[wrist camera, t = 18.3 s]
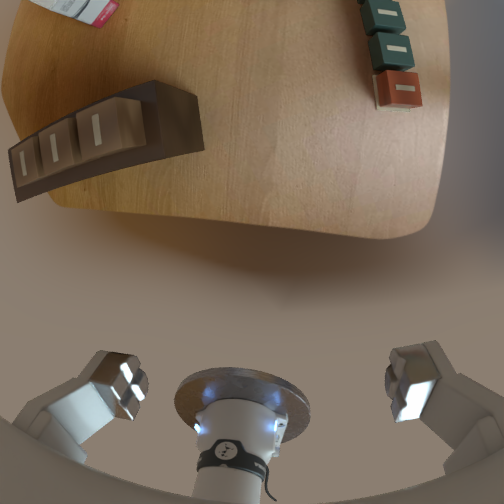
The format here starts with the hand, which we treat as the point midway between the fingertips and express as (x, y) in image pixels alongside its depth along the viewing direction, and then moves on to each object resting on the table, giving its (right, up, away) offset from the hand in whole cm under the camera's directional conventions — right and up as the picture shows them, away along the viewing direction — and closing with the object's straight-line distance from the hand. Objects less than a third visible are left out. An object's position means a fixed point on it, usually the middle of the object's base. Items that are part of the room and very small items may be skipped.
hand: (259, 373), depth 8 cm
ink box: (-24, +40, +16) cm, 49 cm away
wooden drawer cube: (+17, +23, +18) cm, 34 cm away
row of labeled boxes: (+16, +29, +16) cm, 37 cm away
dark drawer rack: (-17, +18, +25) cm, 35 cm away
